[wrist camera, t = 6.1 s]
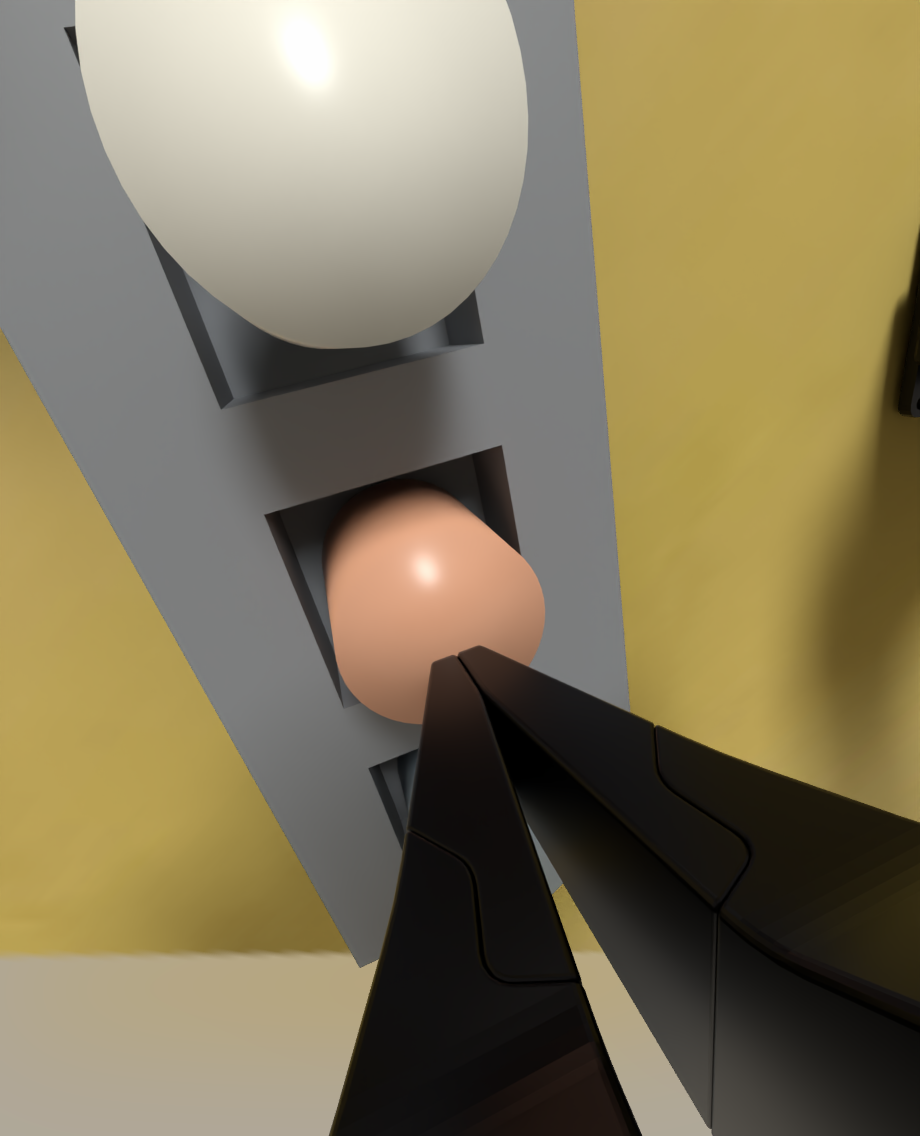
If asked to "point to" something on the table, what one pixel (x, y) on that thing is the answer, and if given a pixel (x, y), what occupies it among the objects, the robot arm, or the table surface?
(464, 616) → the peach rounded piece
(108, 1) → the white short cylinder
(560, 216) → the grey socket tray
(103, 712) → the table surface
